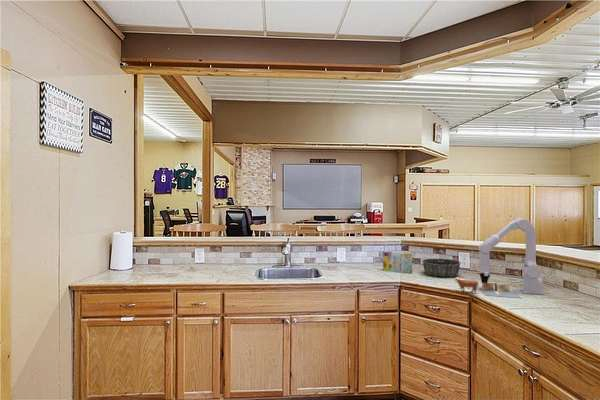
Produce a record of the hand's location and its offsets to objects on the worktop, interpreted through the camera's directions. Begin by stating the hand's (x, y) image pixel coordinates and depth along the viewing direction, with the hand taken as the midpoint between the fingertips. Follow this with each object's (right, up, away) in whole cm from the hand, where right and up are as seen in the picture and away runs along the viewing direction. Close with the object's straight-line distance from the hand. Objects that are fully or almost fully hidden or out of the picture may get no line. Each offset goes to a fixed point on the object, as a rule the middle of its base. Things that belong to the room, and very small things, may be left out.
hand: (484, 285), depth 221 cm
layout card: (+4, -2, -10) cm, 11 cm away
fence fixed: (+8, -2, -6) cm, 10 cm away
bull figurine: (-14, -3, -6) cm, 15 cm away
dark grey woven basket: (-9, -3, +43) cm, 45 cm away
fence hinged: (0, -2, -4) cm, 4 cm away
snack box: (-38, -3, +56) cm, 68 cm away
